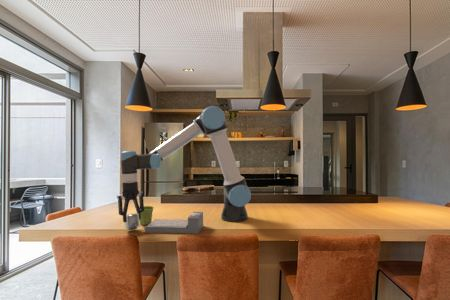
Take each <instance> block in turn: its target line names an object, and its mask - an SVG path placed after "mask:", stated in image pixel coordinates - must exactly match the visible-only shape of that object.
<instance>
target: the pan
mask: <svg viewBox="0 0 450 300" xmlns="http://www.w3.org/2000/svg"><path fill="white" fill-rule="evenodd" d="M187 226H188V219H168V218H167V219H166V218H165V219H164V218H163V219H162V218H161V219H160V218H159V219H158V218H157V219H154V220H153V221H151V223H150V224H147V225H146V227H164V228H187Z"/></svg>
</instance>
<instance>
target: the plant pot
mask: <svg viewBox="0 0 450 300" xmlns="http://www.w3.org/2000/svg"><path fill="white" fill-rule="evenodd" d="M139 208H140V206H139ZM154 209H155V207H154V206H153V205H152V206H151V205H144V211H142V212H141V214H140V215H141V219H139V225H142V226H147V225H149V224H150V223H151V222H153V221H152V219H153V211H154Z"/></svg>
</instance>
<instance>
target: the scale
mask: <svg viewBox="0 0 450 300" xmlns="http://www.w3.org/2000/svg"><path fill="white" fill-rule="evenodd" d="M187 220H188V226H187V228H164V227H147V226H145V228H144V232H145V233H151V234H152V233H153V234H155V233H156V234H194V235H195V234H199V233H200V232H201V230H202V229H203V227H204V211H193V212H192V213H191V214H190V215H189V216H188V217H187ZM202 226H203V227H202ZM201 228H202V229H201ZM200 229H201V230H200Z"/></svg>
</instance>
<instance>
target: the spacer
mask: <svg viewBox="0 0 450 300" xmlns="http://www.w3.org/2000/svg"><path fill="white" fill-rule="evenodd" d="M127 216H128V225H129V229H127V230H128V231H133V230H134V231H135V230H137V229H138V228H139V227H138V226H137V214H135V213H129V214H128V213H127Z"/></svg>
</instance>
